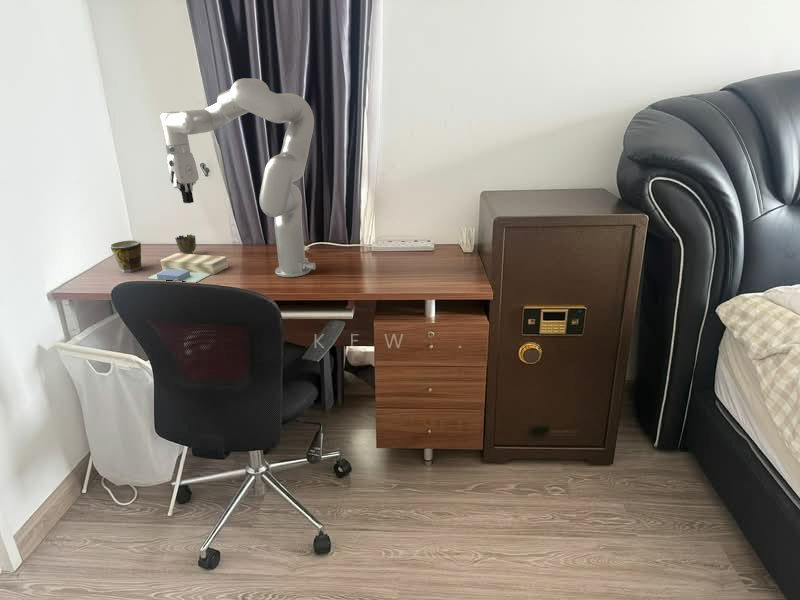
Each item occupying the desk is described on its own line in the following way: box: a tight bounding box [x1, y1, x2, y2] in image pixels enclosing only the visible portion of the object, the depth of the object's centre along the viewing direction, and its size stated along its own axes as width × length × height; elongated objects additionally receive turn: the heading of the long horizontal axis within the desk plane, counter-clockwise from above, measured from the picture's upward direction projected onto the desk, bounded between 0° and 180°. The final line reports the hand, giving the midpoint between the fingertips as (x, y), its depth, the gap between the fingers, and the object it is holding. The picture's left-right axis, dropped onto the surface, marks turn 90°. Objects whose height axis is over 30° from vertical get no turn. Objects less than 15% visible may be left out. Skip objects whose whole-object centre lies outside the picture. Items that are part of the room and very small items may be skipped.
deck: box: [160, 252, 229, 276], centre depth 193 cm, size 22×9×4 cm, turn 74°
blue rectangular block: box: [156, 269, 190, 282], centre depth 183 cm, size 9×6×2 cm, turn 73°
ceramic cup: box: [109, 239, 142, 273], centre depth 191 cm, size 13×10×10 cm
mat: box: [146, 270, 211, 283], centre depth 185 cm, size 20×9×1 cm, turn 74°
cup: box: [174, 233, 197, 254], centre depth 207 cm, size 8×7×8 cm
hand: (188, 202), depth 186 cm, fingers closed
